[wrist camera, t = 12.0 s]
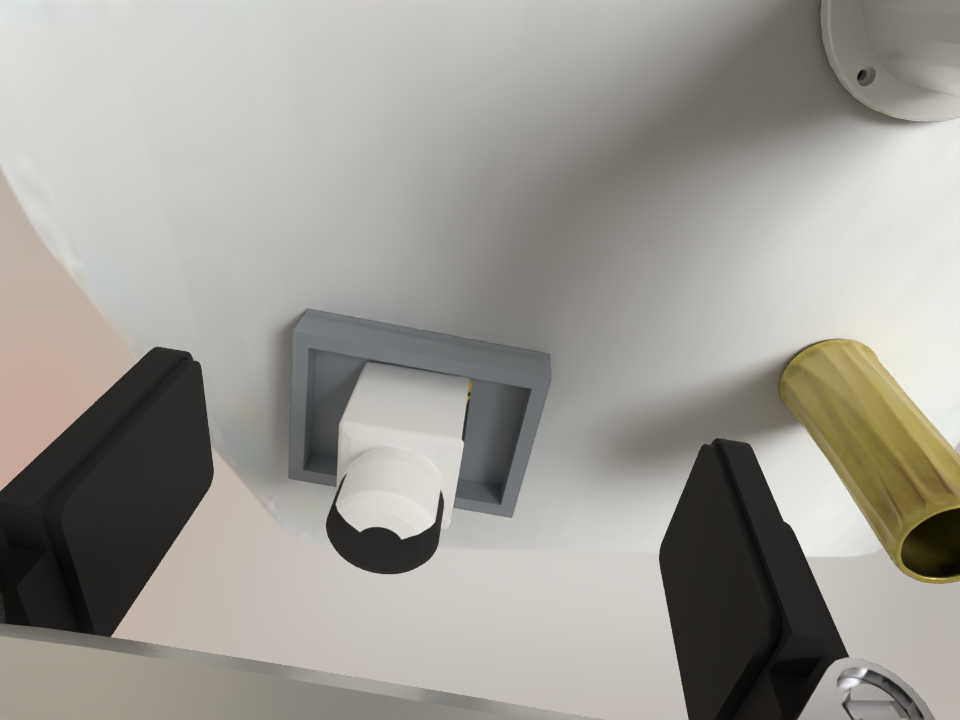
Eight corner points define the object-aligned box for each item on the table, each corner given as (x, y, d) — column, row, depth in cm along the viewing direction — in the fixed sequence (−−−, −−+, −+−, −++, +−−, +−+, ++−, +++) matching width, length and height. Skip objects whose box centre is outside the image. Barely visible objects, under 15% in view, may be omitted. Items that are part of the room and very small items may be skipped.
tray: (549, 354, 41) (551, 378, 39) (512, 488, 48) (512, 518, 45) (307, 308, 41) (292, 330, 38) (301, 451, 47) (288, 478, 44)
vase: (791, 429, 43) (896, 604, 31) (767, 359, 41) (872, 521, 28) (886, 397, 42) (1037, 569, 29) (867, 322, 39) (1025, 477, 27)
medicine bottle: (459, 459, 45) (439, 599, 35) (360, 443, 45) (310, 579, 35) (473, 375, 41) (456, 504, 31) (365, 358, 41) (312, 482, 31)
